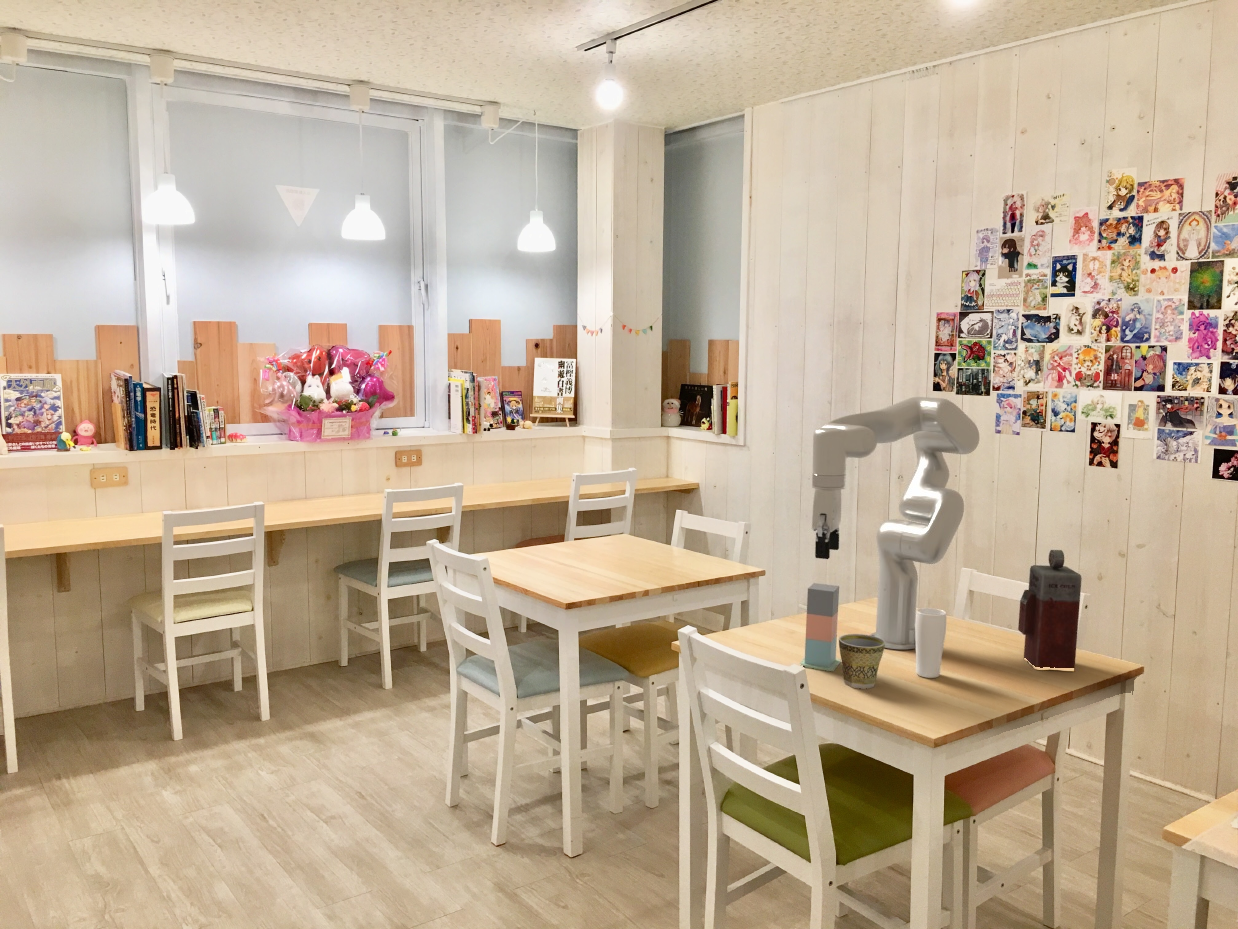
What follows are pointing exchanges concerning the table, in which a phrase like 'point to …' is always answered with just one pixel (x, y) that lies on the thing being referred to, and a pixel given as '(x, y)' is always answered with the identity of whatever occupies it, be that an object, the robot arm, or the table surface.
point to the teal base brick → (820, 652)
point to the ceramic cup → (860, 659)
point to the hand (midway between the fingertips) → (827, 553)
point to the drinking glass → (929, 641)
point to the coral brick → (821, 627)
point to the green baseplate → (822, 666)
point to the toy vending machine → (1051, 614)
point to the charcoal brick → (822, 599)
